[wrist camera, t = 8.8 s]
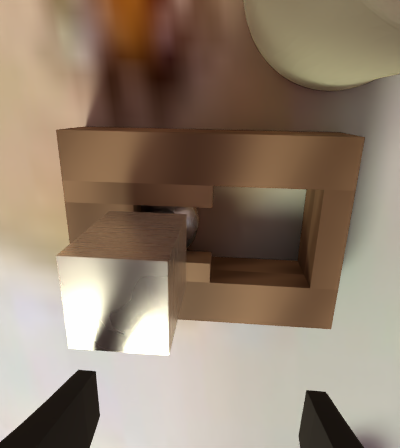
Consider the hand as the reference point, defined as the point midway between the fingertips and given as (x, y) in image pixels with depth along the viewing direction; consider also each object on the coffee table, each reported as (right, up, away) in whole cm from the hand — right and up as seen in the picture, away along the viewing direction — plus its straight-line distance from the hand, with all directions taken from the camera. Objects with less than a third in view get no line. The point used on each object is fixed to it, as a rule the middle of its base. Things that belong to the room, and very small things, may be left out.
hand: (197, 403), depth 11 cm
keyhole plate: (0, +7, +8) cm, 11 cm away
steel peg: (-2, +6, +9) cm, 11 cm away
